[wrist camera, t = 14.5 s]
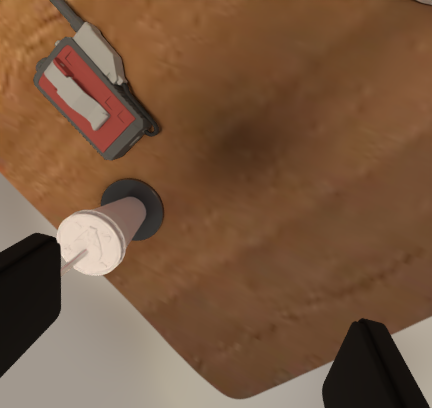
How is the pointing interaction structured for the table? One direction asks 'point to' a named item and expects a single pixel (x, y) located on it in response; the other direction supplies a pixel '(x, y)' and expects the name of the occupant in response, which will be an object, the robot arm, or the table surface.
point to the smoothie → (99, 236)
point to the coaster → (145, 196)
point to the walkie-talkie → (92, 89)
